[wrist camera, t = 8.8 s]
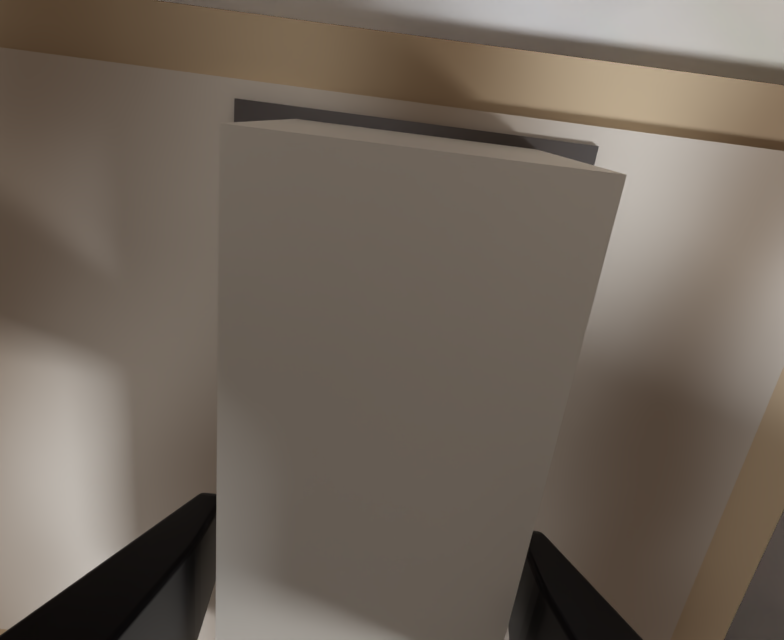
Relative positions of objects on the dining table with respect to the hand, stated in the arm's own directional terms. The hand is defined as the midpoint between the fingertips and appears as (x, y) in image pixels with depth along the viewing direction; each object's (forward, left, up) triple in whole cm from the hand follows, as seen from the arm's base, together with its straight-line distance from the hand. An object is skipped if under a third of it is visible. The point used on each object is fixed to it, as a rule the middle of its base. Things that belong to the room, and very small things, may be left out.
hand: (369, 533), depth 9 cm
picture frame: (+1, 0, -4) cm, 4 cm away
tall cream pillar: (0, 0, -2) cm, 2 cm away
